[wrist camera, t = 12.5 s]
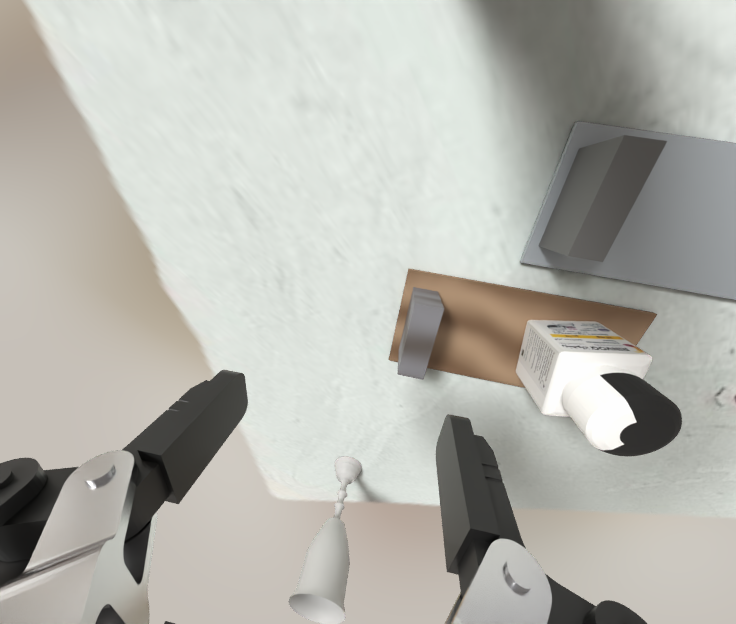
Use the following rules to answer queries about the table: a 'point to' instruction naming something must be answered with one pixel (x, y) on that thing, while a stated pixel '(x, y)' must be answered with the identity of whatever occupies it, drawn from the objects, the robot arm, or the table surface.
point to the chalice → (327, 560)
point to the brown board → (486, 325)
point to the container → (596, 385)
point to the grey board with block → (641, 210)
